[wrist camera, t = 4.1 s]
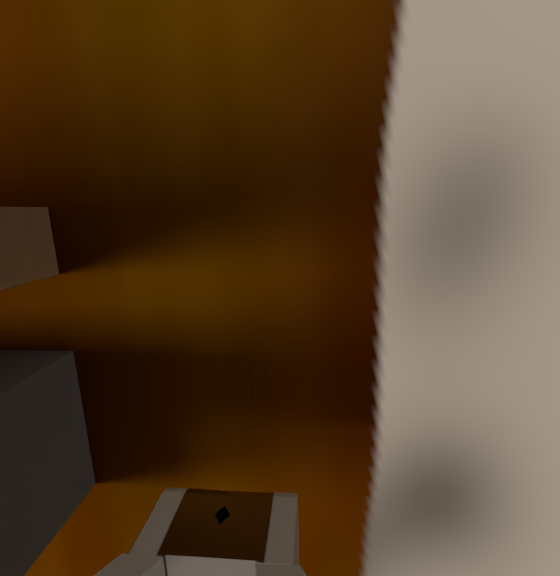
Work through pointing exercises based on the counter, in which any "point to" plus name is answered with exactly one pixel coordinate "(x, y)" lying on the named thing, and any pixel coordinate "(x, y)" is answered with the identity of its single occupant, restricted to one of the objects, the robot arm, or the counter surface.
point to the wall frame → (26, 246)
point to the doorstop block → (39, 452)
